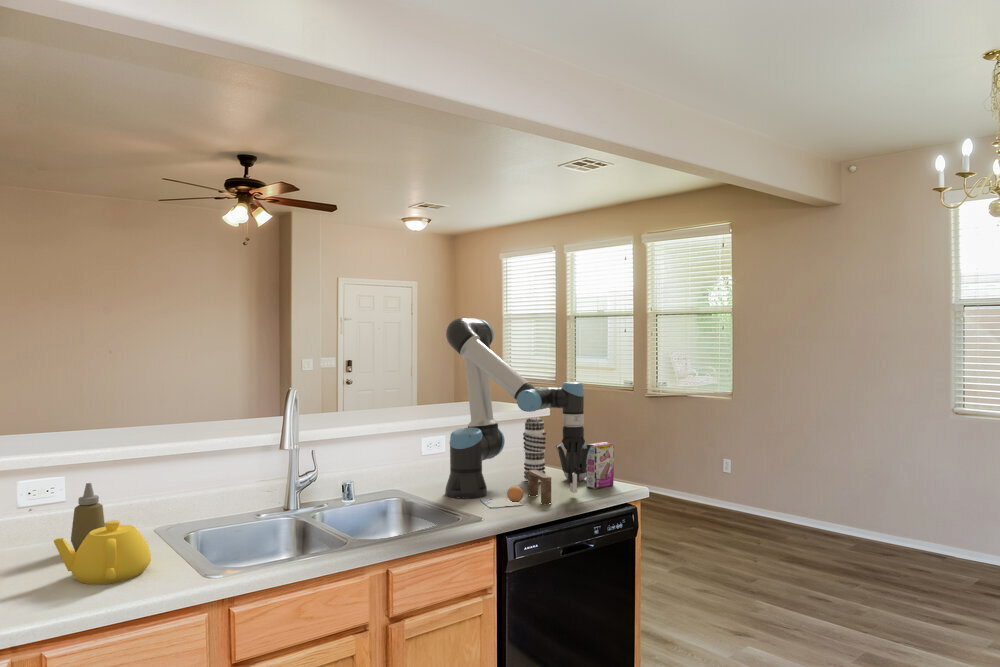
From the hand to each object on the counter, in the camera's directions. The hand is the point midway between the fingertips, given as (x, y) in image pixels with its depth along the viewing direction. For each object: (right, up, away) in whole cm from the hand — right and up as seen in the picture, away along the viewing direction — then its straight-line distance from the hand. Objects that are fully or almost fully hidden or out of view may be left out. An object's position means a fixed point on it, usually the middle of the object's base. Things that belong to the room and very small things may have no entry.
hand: (573, 491), depth 239 cm
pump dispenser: (+4, -3, +30) cm, 30 cm away
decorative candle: (-12, -3, +29) cm, 31 cm away
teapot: (-120, -2, -80) cm, 144 cm away
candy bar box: (+12, -2, +18) cm, 22 cm away
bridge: (-12, -2, -4) cm, 13 cm away
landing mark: (-26, -2, -8) cm, 27 cm away
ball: (-21, +1, -7) cm, 22 cm away
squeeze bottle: (-136, -2, -60) cm, 149 cm away
